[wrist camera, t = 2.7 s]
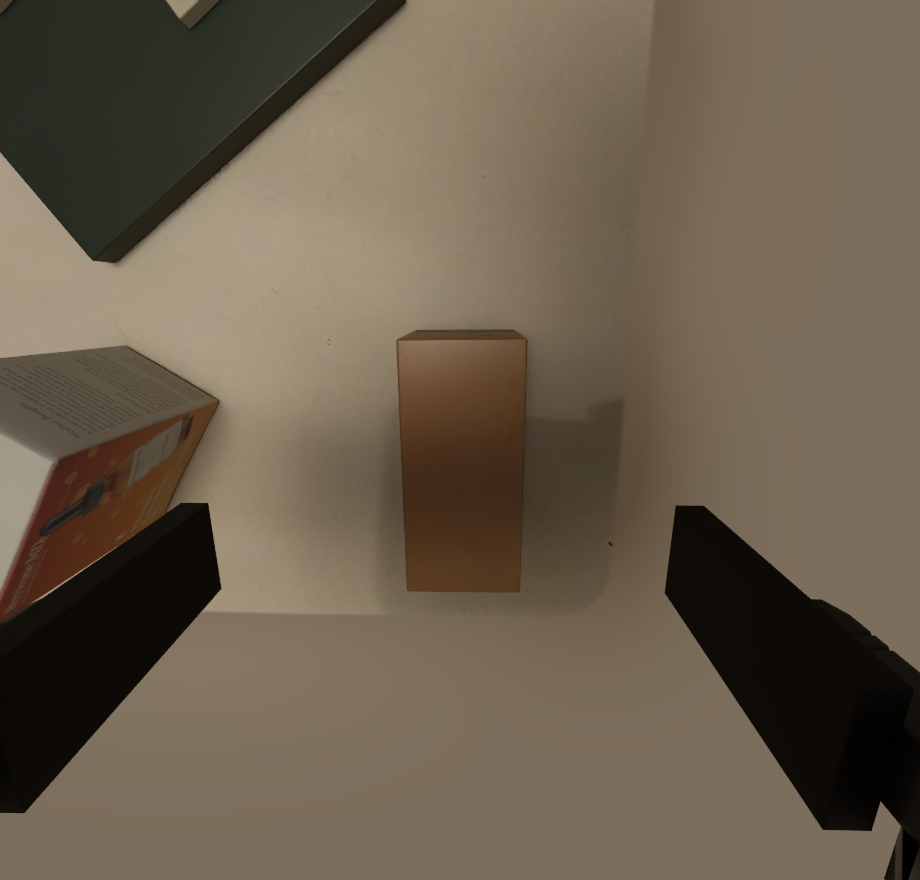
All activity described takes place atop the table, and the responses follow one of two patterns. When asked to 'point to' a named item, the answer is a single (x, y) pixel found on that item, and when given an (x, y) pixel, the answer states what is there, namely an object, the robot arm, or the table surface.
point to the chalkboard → (153, 98)
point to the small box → (85, 459)
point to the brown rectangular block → (462, 458)
